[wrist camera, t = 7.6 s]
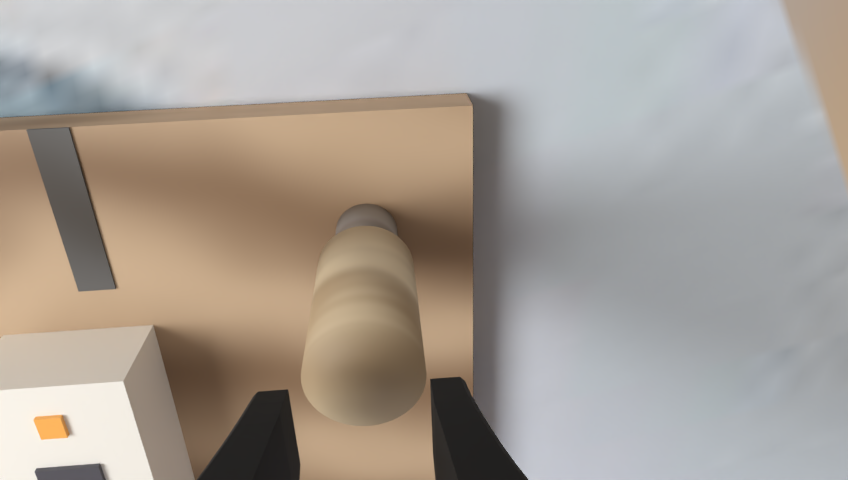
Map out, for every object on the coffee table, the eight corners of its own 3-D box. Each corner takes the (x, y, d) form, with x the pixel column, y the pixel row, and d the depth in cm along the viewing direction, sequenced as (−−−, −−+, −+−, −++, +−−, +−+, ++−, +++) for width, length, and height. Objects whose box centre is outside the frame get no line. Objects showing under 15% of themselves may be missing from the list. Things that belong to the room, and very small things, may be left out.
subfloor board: (468, 523, 30) (473, 553, 28) (47, 558, 29) (31, 591, 28) (466, 93, 21) (473, 106, 19) (-146, 125, 20) (-186, 141, 18)
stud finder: (198, 491, 26) (177, 562, 23) (69, 502, 25) (32, 574, 23) (153, 325, 22) (121, 384, 19) (3, 335, 22) (-52, 396, 19)
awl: (411, 266, 22) (428, 421, 15) (328, 271, 22) (308, 430, 15) (407, 189, 21) (424, 321, 14) (319, 194, 20) (293, 330, 14)
